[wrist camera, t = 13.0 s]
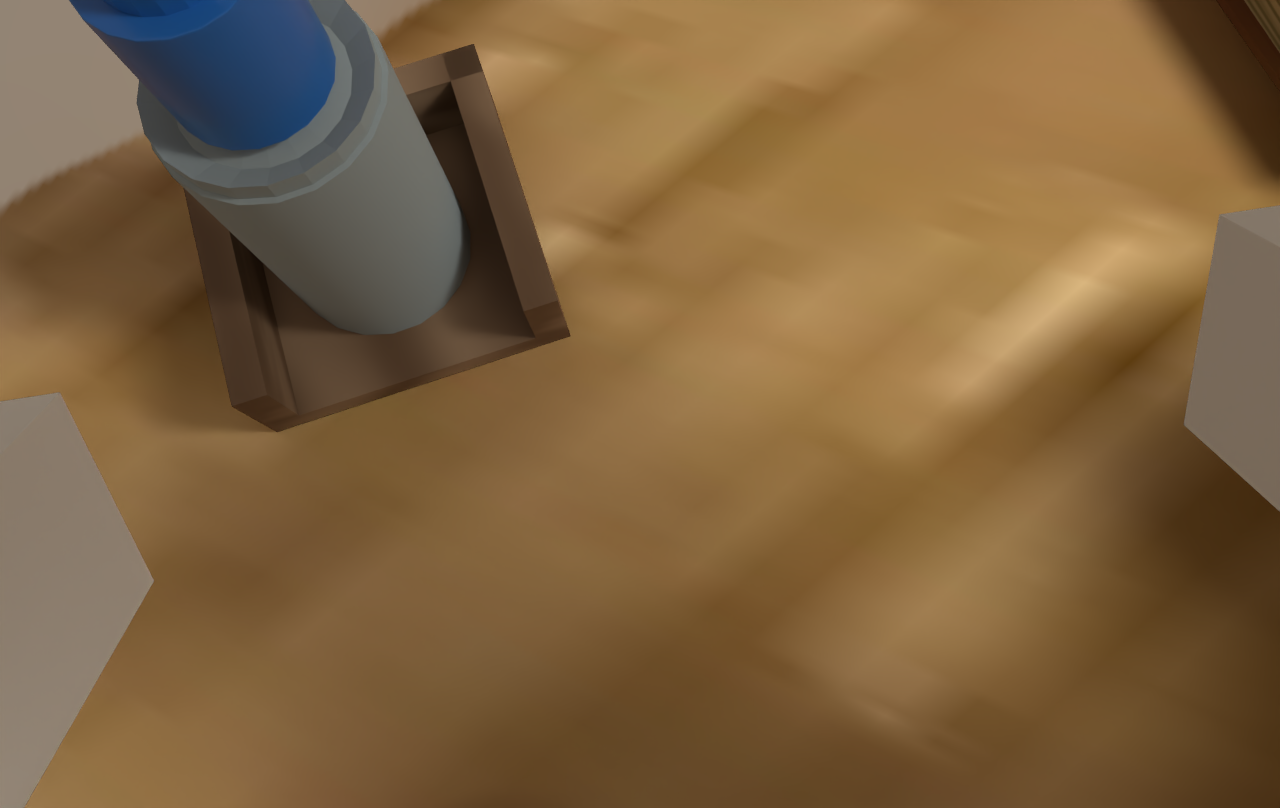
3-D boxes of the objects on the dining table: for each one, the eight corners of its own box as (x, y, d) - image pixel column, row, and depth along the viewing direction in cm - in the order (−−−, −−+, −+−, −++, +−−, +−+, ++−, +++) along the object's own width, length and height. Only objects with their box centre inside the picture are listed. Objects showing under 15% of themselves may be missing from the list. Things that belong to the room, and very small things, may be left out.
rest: (493, 100, 51) (473, 43, 46) (570, 335, 47) (557, 300, 43) (220, 186, 50) (172, 138, 46) (276, 431, 47) (231, 406, 42)
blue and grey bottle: (348, 144, 49) (25, -354, 25) (502, 208, 48) (316, -255, 24) (260, 293, 47) (-182, -93, 23) (418, 363, 46) (121, 31, 22)
